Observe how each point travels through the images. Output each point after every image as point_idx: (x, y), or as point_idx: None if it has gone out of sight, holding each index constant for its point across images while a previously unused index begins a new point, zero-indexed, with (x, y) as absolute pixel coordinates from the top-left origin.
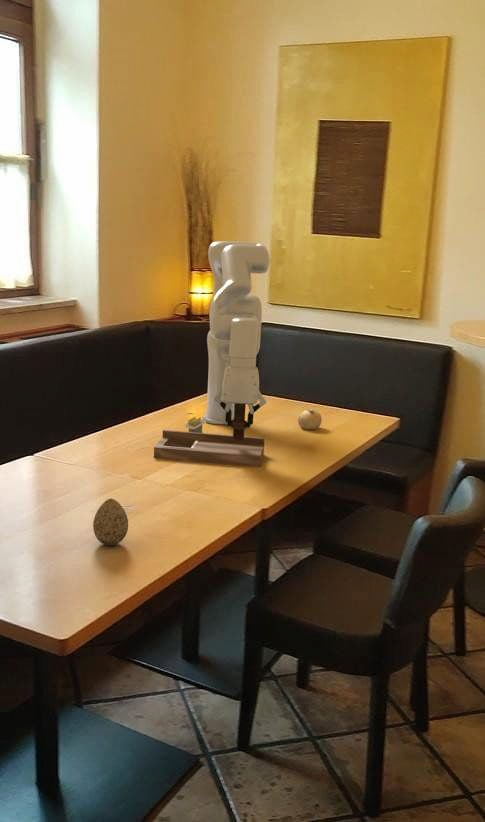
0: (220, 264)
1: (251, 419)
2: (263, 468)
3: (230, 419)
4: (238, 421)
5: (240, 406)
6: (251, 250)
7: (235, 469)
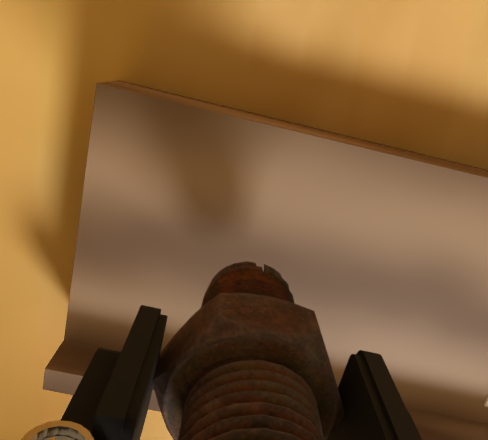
0: None
1: (97, 384)
2: (93, 44)
3: (357, 423)
4: (267, 364)
5: None
6: None
7: (286, 10)
